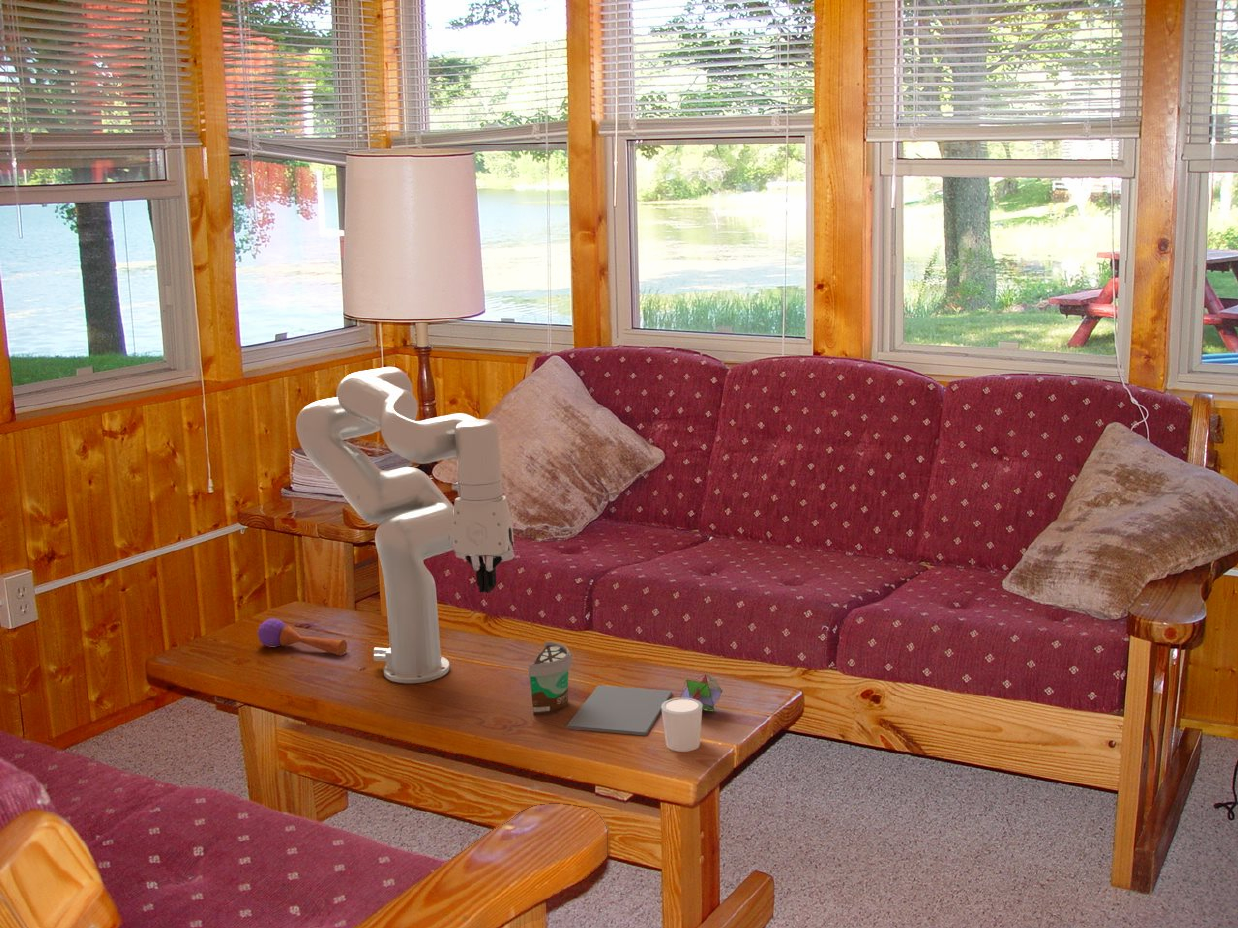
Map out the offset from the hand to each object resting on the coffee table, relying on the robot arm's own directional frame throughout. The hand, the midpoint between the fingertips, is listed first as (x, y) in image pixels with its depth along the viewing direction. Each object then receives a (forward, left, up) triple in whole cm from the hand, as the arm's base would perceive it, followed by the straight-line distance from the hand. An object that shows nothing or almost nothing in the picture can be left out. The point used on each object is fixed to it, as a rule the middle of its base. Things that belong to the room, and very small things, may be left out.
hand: (487, 589), depth 236 cm
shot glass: (+38, -11, -21) cm, 45 cm away
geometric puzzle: (+38, +2, -21) cm, 44 cm away
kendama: (-49, +17, -22) cm, 56 cm away
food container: (+12, 0, -21) cm, 24 cm away
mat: (+24, 0, -21) cm, 32 cm away
